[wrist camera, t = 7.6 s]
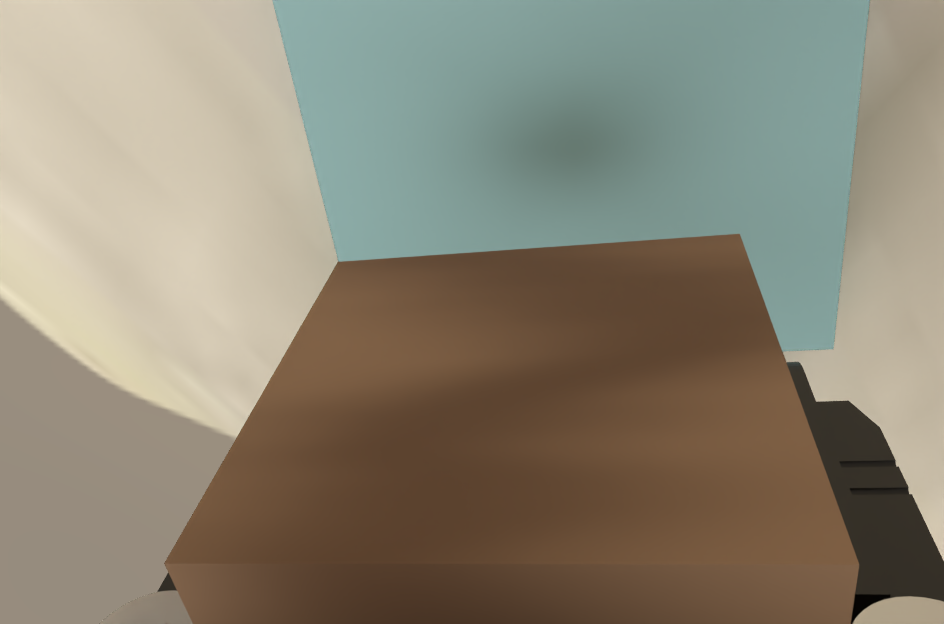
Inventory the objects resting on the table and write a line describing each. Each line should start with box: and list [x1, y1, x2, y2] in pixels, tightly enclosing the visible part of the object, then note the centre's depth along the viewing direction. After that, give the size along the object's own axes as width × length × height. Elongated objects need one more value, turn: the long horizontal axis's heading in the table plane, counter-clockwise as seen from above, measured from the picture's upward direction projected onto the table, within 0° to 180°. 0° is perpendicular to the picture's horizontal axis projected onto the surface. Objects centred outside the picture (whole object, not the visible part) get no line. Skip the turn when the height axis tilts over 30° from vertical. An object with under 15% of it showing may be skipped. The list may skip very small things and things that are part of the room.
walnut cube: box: [164, 234, 859, 624], centre depth 9 cm, size 5×5×5 cm
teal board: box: [273, 0, 870, 351], centre depth 21 cm, size 14×14×2 cm
